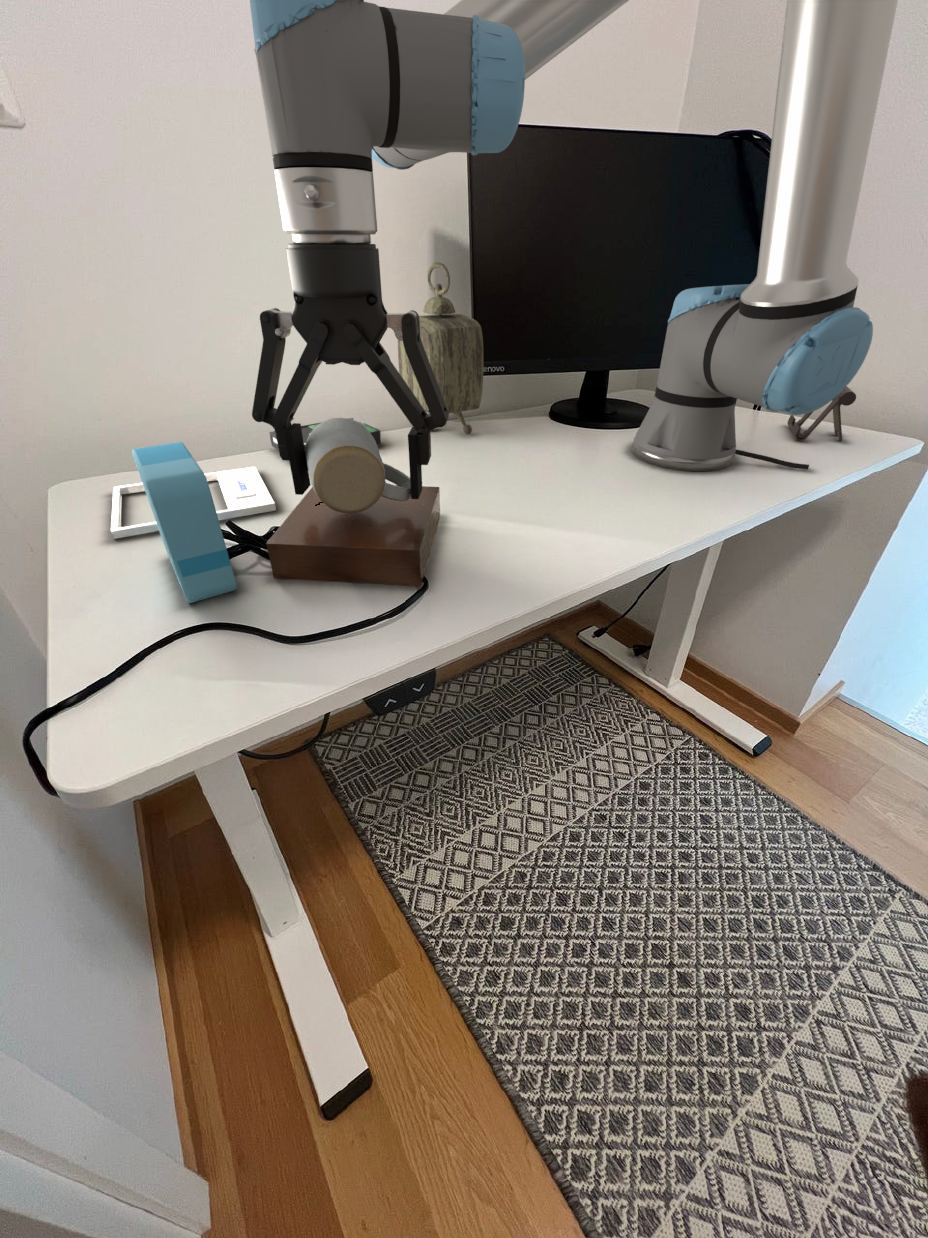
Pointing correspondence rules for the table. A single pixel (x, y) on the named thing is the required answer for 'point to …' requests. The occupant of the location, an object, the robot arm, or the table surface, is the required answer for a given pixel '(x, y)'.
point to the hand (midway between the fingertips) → (359, 492)
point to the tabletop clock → (448, 353)
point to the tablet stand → (842, 399)
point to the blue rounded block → (186, 520)
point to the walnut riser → (357, 541)
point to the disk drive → (308, 428)
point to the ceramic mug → (350, 467)
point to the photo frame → (241, 498)
